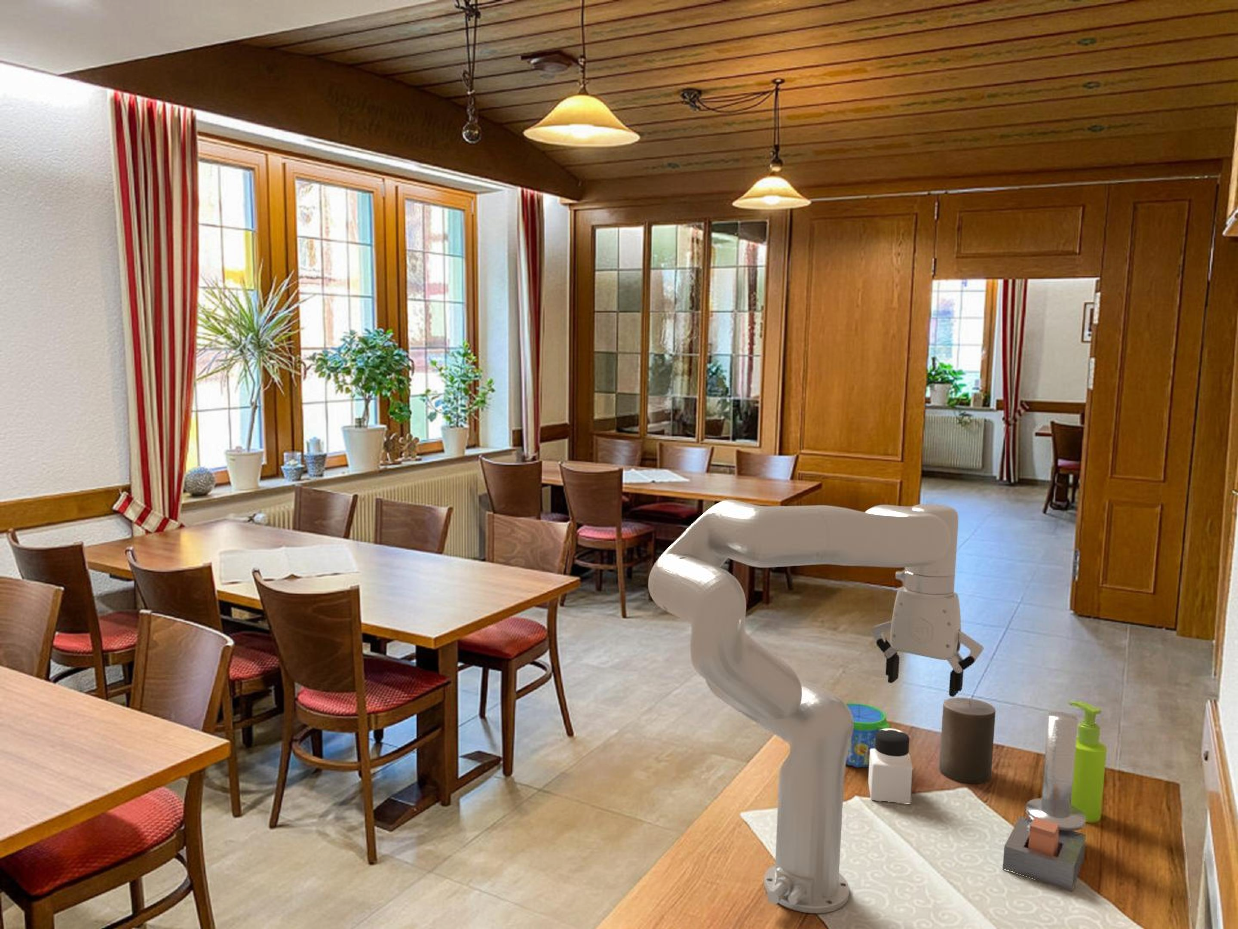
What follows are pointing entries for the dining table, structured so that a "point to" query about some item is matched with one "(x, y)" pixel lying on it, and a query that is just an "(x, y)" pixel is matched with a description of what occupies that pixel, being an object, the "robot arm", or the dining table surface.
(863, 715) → the snack cup
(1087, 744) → the soap dispenser
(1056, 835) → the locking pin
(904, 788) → the medicine bottle
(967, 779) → the pillar candle
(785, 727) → the robot arm
